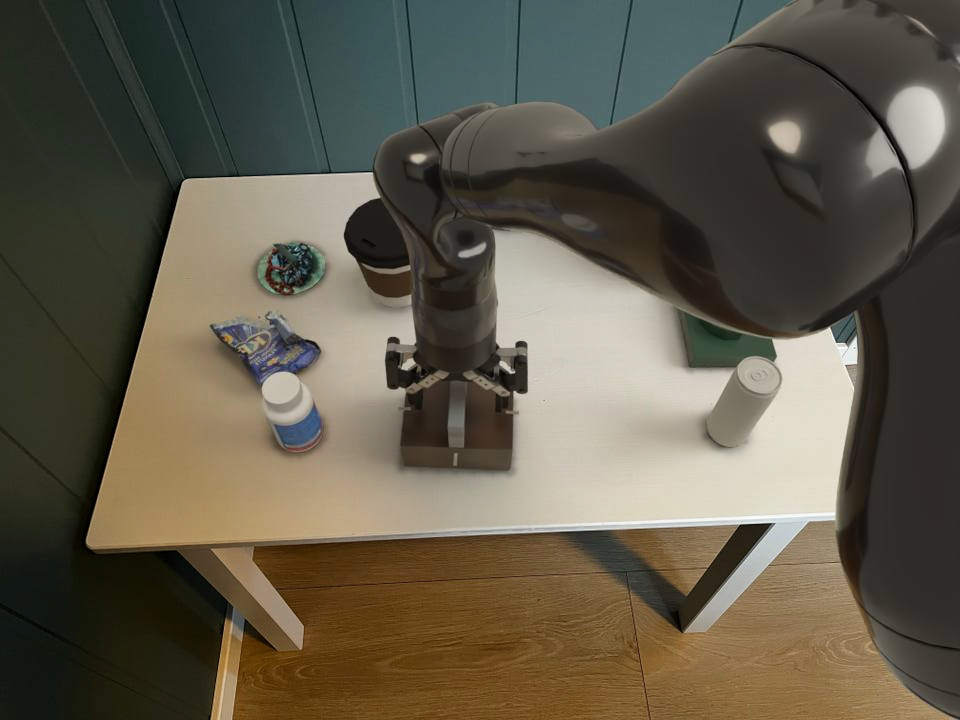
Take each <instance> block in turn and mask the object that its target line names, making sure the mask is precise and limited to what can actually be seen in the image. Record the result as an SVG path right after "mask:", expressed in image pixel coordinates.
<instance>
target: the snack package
mask: <svg viewBox="0 0 960 720" xmlns="http://www.w3.org/2000/svg"><path fill="white" fill-rule="evenodd" d="M264 317H265V319H266V320H267V321H269V322H263V321H257V320H256V321H255V320H253V319H249V318H247V317H244V316H235V317H234V319H232V320H226V321H223V322H220V323H211V324H209V328H210V329H211V331H212V332H213V334H214V335H215V337H217V339H218V340H219V341H220V342H221V343H222V344H223V345H224V346H225V347H227V348H228V350H230V351H231V352H232V353H234V354H236V356H238V357H239V358H240V359H241V362H242V364H243V366H244V367H245V369H246V371H247V372H248V373H249V374H250V375H251V376H252V377H253V378H254V380H255V381H256V382H257V383H258V385H260V386H261V387H262V386H263V383H264V382H265V380H266V379H267V378H268V377H270V376H271V375H273V374H275V373H278V372H289V373H292V374H297V372H299V371H301V370H303V369H307V368H308V366H311V364H312V363H313V362H314V361H315V360H316V358H317V357H318V356H319V355H320V354H321V353H322V349H321V347H320V345H319V344H318V343H317V341H314V340H311V339H306V338H304V337H302V336H300V335H298V334H297V332H295V330H294V329H293V328H292V326H291V325H290V323H289V321H288V319H287V317H286V316H285V315H284V314H283V313H281V312H280V311H278V310H277V309H275V310H272V311H267V313H266V314H265V315H264ZM257 319H261V316H260V315H259V316H258V317H257Z"/></svg>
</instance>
